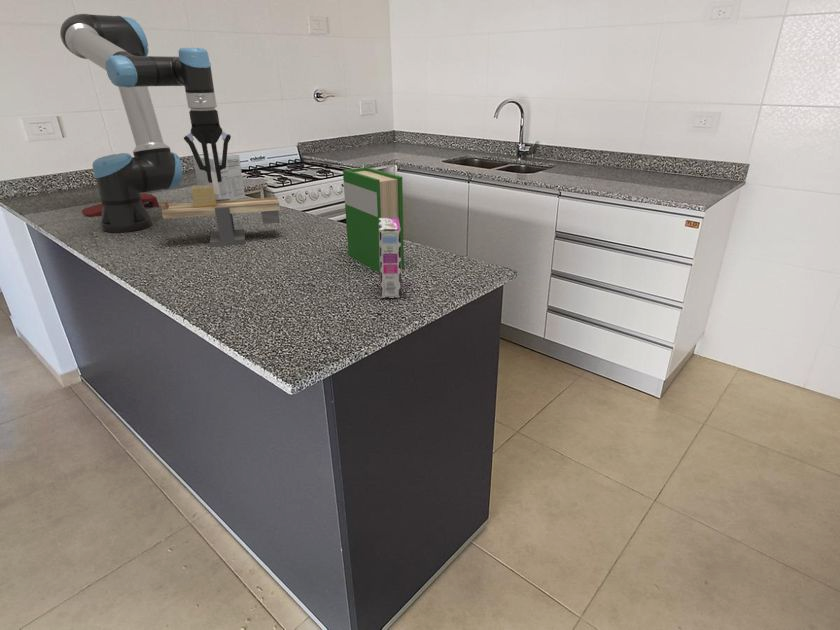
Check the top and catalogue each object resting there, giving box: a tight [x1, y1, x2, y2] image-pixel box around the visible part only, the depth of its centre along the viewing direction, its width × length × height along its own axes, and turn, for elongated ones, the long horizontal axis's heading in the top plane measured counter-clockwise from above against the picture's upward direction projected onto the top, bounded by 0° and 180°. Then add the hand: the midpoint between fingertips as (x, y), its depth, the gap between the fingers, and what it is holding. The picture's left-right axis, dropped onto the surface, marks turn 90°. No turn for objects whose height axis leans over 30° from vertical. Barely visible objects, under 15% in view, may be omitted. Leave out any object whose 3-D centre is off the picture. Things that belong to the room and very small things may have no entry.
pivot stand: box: [209, 199, 246, 248], centre depth 160 cm, size 12×10×12 cm
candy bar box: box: [379, 218, 402, 299], centre depth 121 cm, size 11×5×16 cm, turn 5°
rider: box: [190, 185, 217, 208], centre depth 155 cm, size 5×6×6 cm
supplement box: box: [191, 152, 246, 200], centre depth 213 cm, size 13×13×18 cm
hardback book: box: [342, 167, 405, 274], centre depth 138 cm, size 18×7×24 cm, turn 34°
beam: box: [160, 196, 281, 225], centre depth 159 cm, size 10×33×8 cm, turn 108°
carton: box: [81, 193, 160, 218], centre depth 200 cm, size 12×5×25 cm
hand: (217, 193), depth 156 cm, fingers closed
